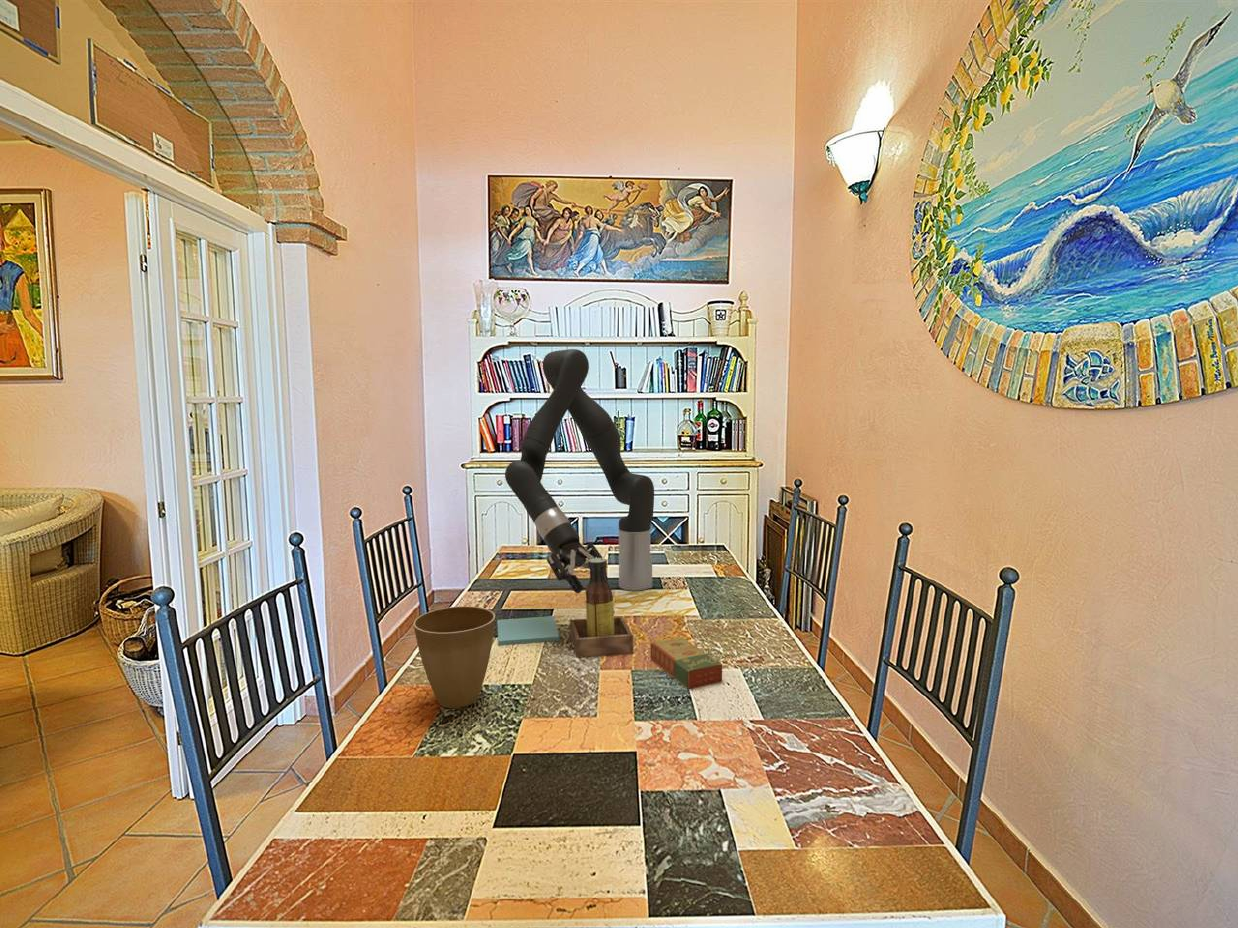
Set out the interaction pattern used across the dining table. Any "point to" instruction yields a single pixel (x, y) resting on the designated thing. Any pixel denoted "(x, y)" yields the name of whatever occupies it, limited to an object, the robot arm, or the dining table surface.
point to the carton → (686, 662)
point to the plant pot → (455, 651)
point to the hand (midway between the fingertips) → (593, 586)
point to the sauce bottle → (599, 601)
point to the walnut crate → (601, 639)
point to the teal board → (527, 630)
